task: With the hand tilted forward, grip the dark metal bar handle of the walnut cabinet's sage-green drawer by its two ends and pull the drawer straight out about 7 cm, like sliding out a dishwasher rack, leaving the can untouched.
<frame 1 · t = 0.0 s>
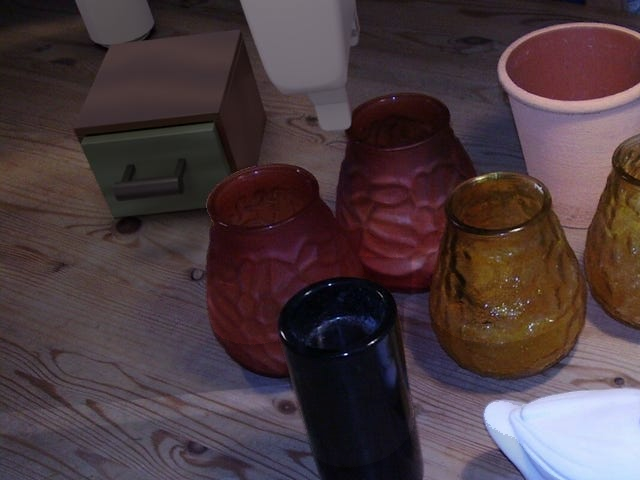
hand: (342, 80, 60), 23 cm above the table, tool pointing down, fingers open, 8 cm apart
cabinet: (193, 165, 96), on the table
can: (125, 37, 117), on the table
drawer: (170, 145, 90), point 5 cm above the table, slide at 0.0 cm
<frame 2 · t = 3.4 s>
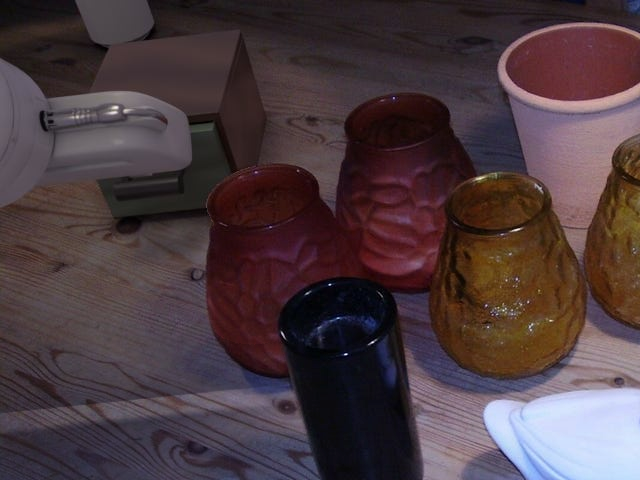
hand: (75, 172, 70), 15 cm above the table, tool tilted 45°, fingers open, 8 cm apart
nothing on the table moved.
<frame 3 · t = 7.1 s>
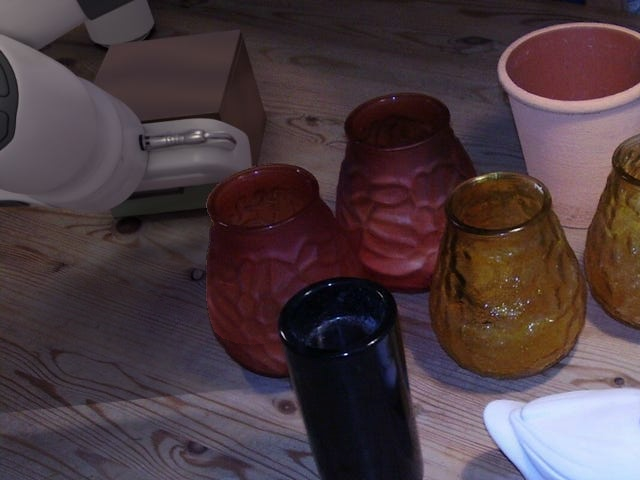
hand: (151, 181, 84), 6 cm above the table, tool tilted 45°, fingers closed on drawer, 5 cm apart
drawer: (170, 145, 90), point 5 cm above the table, slide at 0.0 cm, touching cabinet, gripper
everything else where it was.
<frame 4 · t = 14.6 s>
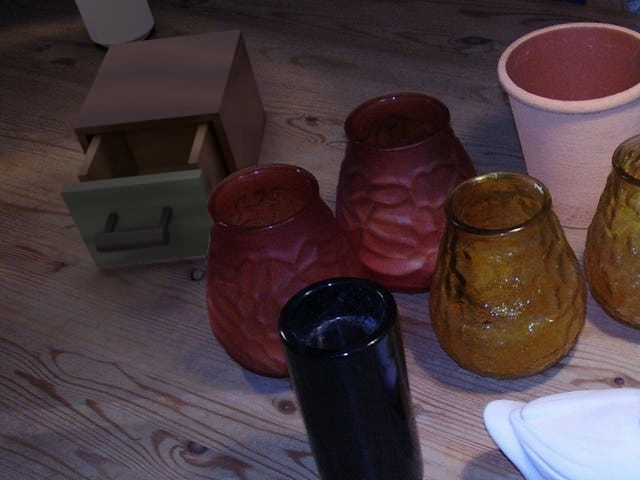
drawer: (156, 190, 85), point 5 cm above the table, slide at 6.8 cm
everything else where it was.
at the end: drawer slide at 6.8 cm; can moved 0.2 cm from its start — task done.
